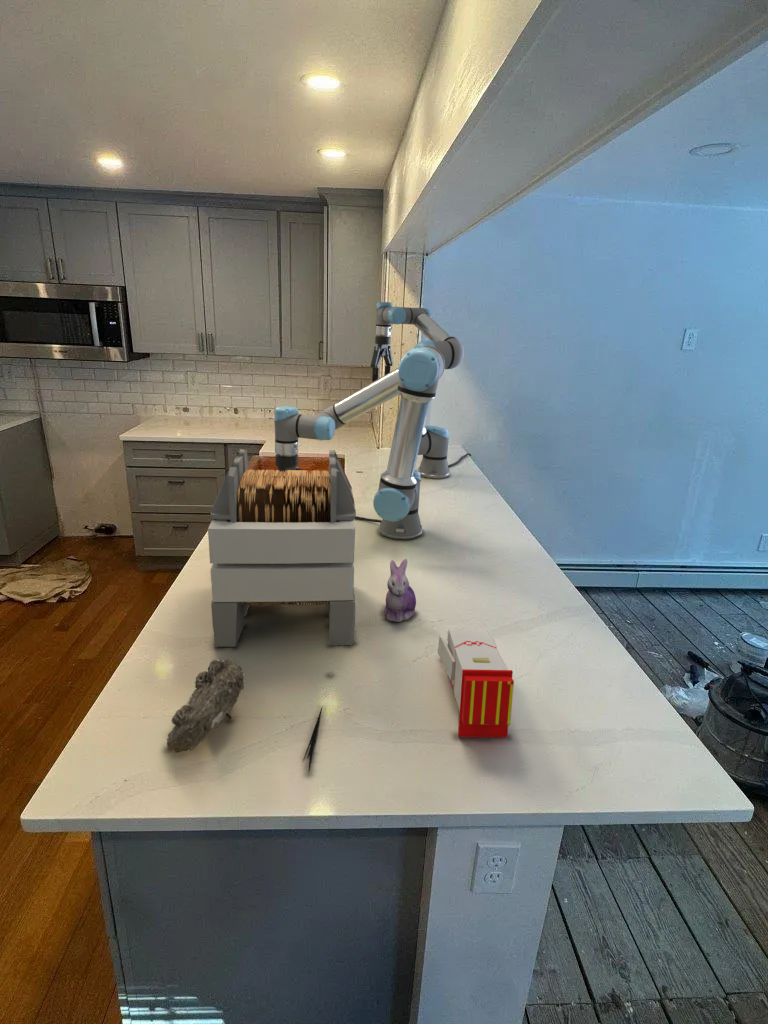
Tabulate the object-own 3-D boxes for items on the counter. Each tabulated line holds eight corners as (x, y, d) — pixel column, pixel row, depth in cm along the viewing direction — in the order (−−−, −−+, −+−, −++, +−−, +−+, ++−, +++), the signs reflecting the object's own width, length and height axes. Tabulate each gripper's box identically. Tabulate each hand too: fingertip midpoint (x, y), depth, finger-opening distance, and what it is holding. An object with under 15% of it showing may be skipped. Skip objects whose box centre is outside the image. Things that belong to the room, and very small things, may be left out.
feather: (331, 679, 122) (336, 673, 122) (307, 777, 96) (313, 769, 95) (324, 675, 122) (329, 669, 121) (298, 772, 95) (304, 764, 95)
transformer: (232, 581, 160) (225, 440, 147) (348, 580, 164) (351, 442, 150) (211, 649, 129) (199, 477, 115) (355, 646, 132) (360, 479, 119)
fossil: (192, 660, 117) (244, 628, 112) (224, 691, 120) (276, 661, 115) (142, 746, 98) (202, 712, 93) (182, 779, 101) (242, 748, 96)
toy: (488, 613, 130) (523, 677, 101) (484, 667, 133) (517, 744, 104) (435, 612, 130) (455, 676, 101) (432, 666, 133) (451, 743, 103)
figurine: (392, 627, 141) (395, 572, 136) (374, 608, 149) (376, 556, 144) (425, 619, 145) (429, 566, 140) (405, 601, 154) (408, 550, 149)
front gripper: (279, 461, 178) (280, 530, 186) (312, 449, 194) (312, 513, 202) (259, 458, 181) (261, 525, 188) (293, 446, 197) (294, 509, 205)
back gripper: (378, 336, 263) (376, 383, 270) (400, 335, 284) (398, 378, 291) (364, 335, 266) (363, 381, 273) (387, 334, 287) (385, 377, 294)
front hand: (287, 519), depth 195 cm, fingers closed on block, 6 cm apart
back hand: (381, 380), depth 282 cm, fingers open, 13 cm apart
